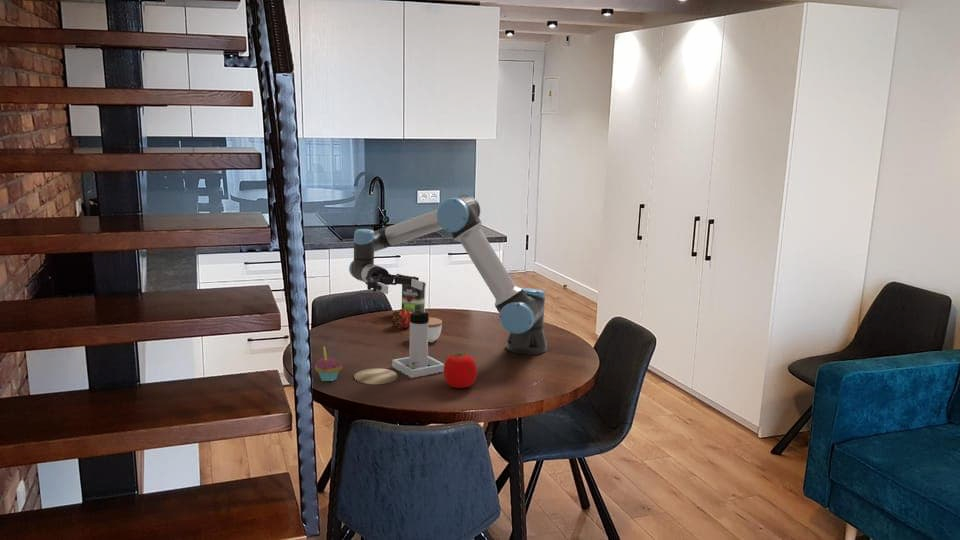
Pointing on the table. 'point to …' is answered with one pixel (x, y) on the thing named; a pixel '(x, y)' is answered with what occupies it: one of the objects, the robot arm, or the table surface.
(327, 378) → the cupcake
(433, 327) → the lidded jar
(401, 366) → the grey square frame
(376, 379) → the mat
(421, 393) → the table surface
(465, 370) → the tomato
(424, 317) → the travel mug
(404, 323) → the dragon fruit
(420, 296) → the coffee can
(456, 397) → the table surface
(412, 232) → the robot arm
